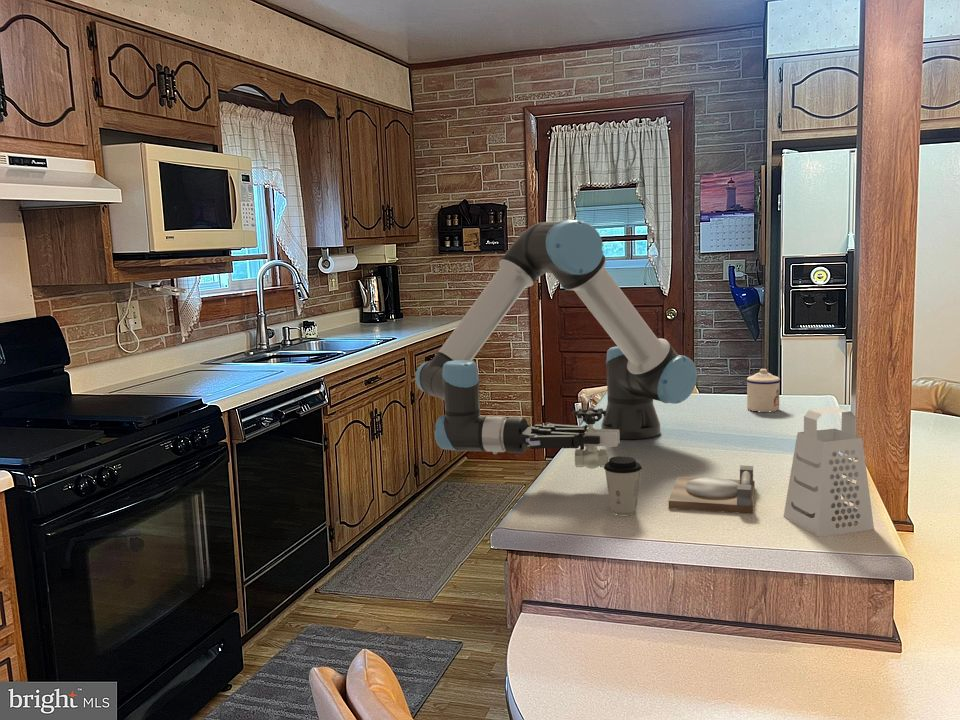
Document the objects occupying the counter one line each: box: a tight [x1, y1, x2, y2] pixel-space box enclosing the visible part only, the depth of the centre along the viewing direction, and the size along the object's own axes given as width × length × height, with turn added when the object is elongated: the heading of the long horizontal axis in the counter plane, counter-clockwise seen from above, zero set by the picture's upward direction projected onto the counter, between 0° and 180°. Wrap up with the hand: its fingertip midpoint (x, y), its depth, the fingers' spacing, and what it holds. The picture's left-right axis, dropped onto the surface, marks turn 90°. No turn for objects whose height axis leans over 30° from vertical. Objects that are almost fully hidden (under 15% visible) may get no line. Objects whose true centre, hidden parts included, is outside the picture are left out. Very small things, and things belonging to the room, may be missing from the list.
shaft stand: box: [667, 465, 756, 515], centre depth 160 cm, size 16×15×4 cm
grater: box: [783, 407, 875, 537], centre depth 143 cm, size 10×10×20 cm
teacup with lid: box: [746, 368, 781, 413], centre depth 236 cm, size 12×9×12 cm
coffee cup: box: [603, 456, 643, 516], centre depth 154 cm, size 7×7×10 cm
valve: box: [573, 407, 609, 470], centre depth 169 cm, size 7×7×12 cm
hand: (617, 438), depth 167 cm, fingers closed on valve, 2 cm apart
